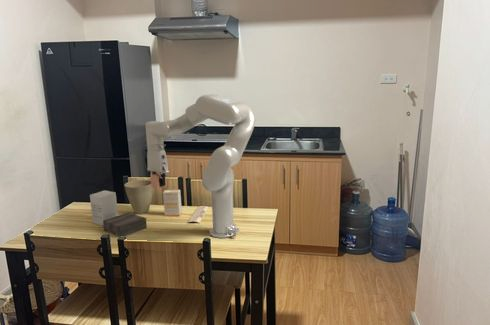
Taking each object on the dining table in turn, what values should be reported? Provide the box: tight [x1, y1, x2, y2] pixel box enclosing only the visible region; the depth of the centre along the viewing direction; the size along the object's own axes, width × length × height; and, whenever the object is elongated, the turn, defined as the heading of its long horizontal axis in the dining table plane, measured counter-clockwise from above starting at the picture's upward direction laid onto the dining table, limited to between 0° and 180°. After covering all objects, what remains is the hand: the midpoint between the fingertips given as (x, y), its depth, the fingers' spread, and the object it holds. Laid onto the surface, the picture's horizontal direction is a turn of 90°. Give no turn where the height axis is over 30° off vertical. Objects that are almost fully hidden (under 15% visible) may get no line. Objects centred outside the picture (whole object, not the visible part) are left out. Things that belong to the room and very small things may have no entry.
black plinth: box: [103, 211, 147, 237], centre depth 177 cm, size 14×14×5 cm
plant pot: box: [124, 179, 154, 215], centre depth 200 cm, size 15×15×16 cm
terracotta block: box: [150, 172, 167, 189], centre depth 178 cm, size 5×5×6 cm
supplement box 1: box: [89, 190, 119, 227], centre depth 187 cm, size 9×9×15 cm
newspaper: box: [186, 205, 209, 224], centre depth 195 cm, size 24×7×2 cm, turn 174°
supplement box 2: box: [162, 189, 183, 217], centre depth 195 cm, size 8×5×13 cm, turn 84°
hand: (158, 184), depth 179 cm, fingers closed on terracotta block, 5 cm apart
